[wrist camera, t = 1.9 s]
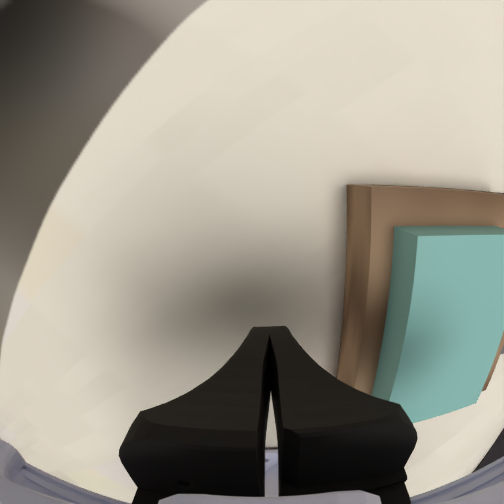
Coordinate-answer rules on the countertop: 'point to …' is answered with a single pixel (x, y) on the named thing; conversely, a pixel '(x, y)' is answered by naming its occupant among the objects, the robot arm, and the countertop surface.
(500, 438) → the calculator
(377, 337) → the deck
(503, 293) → the block
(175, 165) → the countertop surface
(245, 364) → the robot arm
